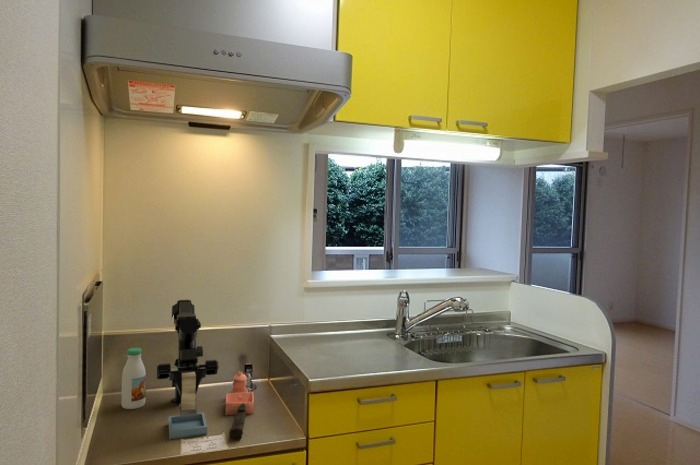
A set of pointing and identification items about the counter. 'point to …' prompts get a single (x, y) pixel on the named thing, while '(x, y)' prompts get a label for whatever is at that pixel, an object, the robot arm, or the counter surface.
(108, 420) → the counter surface
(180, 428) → the tray
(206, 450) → the counter surface
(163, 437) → the counter surface
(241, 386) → the pottery
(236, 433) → the hand tool
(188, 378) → the beige pillar on base
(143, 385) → the milk bottle
